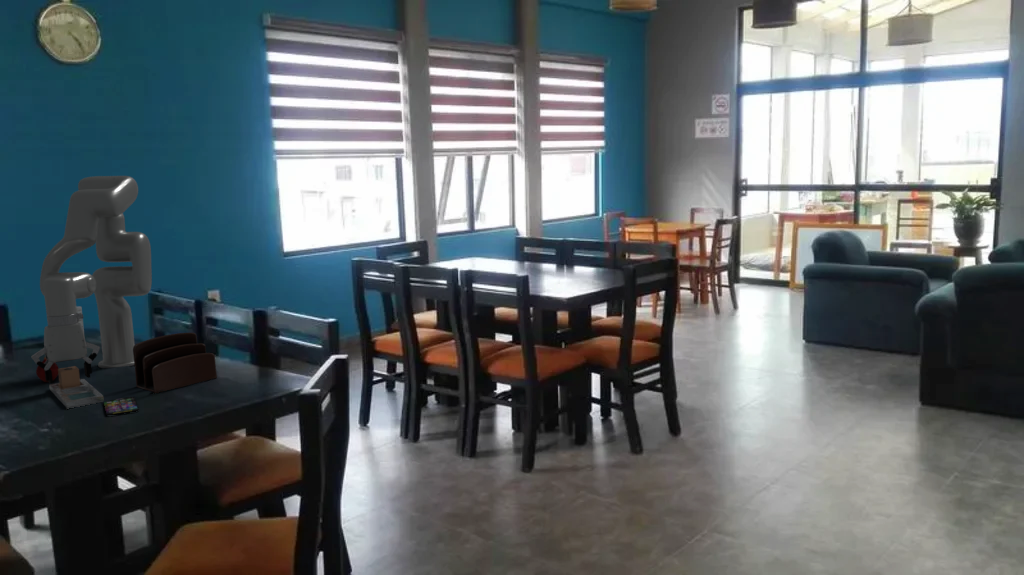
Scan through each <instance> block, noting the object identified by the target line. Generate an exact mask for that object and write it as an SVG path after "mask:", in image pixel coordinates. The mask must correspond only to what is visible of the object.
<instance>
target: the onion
mask: <svg viewBox="0 0 1024 575" xmlns="http://www.w3.org/2000/svg"><path fill="white" fill-rule="evenodd" d="M46 361H47V359H46V357H45V356H44V358H43V360H42V361H41V362H43V363H45V362H46ZM50 369H51V370H52V379H53V381H55V379H56V378H57V377H59V375H58V369H60V368H59V366H58V364H57V362H54V363H53V364H52V366H51V367H50ZM35 370H36V371H35V372H36V376H37V378H39V379H40V381H42V382H44V383H49V382H48V381H46V379H45V371H44V369H43V368H41V367H40V366H38V365H37V366H36V369H35Z"/></svg>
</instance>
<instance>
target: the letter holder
mask: <svg viewBox="0 0 1024 575" xmlns="http://www.w3.org/2000/svg"><path fill="white" fill-rule="evenodd" d="M197 337H198V335H197V333H195V332H179V333H171V334H165V335H161V336H157V337H152V338H150V339H146V340H144V341H140V342H138V343H136V344H135V346H134V347H133V355H134V365H133V366H134V374H135V382H136V383H135V384H136V388H139V389H141V390H145V391H149V392H151V393H152V394H153V393H154V395H156V394H155V393H157V394H160V393H159V392H161V393H164V392H163V391H165V392H168V391H167V390H169V391H172V390H171V389H173V390H176V389H175V388H177V389H180V388H184V387H188V386H191V384H192V385H195V383H196V384H199V382H200V383H203V381H204V382H208V381H211V379H212V380H215V379H217V378H218V374H217V365H216V364H217V363H216V356H215V354H214V353H213V352H207V348H206V344H205V343H202V342H201V343H198V338H197ZM207 380H208V381H207Z"/></svg>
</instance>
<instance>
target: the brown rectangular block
mask: <svg viewBox="0 0 1024 575" xmlns="http://www.w3.org/2000/svg"><path fill="white" fill-rule="evenodd" d="M80 379H81V378H80V369H79V368H78V367H77V366H76V365H73V366H68V367H61V368H59V369H58V383H59V384H60V389H63V388H68V387H74V386H80Z"/></svg>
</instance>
